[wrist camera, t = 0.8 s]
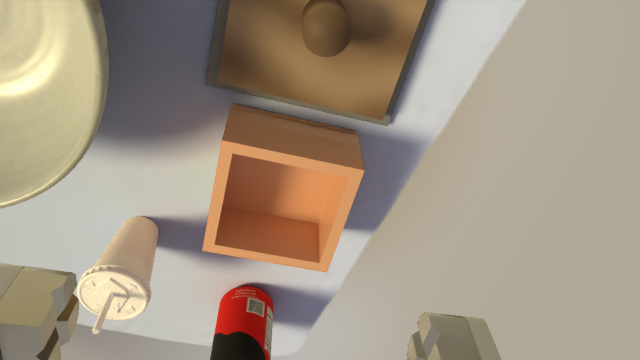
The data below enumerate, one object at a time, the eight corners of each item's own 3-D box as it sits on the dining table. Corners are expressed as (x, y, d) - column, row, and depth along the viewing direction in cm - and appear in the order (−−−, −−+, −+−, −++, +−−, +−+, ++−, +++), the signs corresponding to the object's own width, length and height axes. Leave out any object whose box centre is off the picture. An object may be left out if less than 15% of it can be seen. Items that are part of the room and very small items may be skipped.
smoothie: (170, 208, 52) (132, 312, 40) (172, 254, 55) (138, 362, 44) (107, 203, 51) (50, 307, 40) (113, 250, 55) (62, 358, 43)
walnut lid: (250, -116, 36) (243, -112, 31) (444, -58, 38) (462, -46, 34) (218, 76, 44) (209, 101, 39) (381, 114, 46) (389, 141, 42)
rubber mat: (239, -137, 35) (238, -137, 35) (459, -69, 38) (461, -68, 38) (206, 82, 44) (205, 84, 44) (386, 123, 47) (387, 126, 47)
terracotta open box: (232, 103, 46) (222, 140, 40) (357, 131, 48) (364, 170, 42) (213, 205, 52) (202, 250, 46) (324, 226, 54) (326, 272, 48)
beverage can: (234, 274, 57) (220, 363, 47) (283, 292, 59) (279, 381, 49) (212, 307, 60) (195, 398, 50) (259, 323, 62) (252, 414, 52)
